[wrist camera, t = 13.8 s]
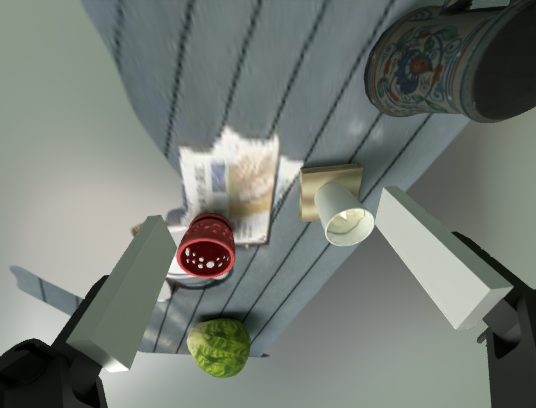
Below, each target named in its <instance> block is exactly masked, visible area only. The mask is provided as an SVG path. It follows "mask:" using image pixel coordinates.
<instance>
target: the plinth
mask: <svg viewBox="0 0 536 408" xmlns="http://www.w3.org/2000/svg"><path fill="white" fill-rule="evenodd" d="M363 169H364V168H363V167H362V166H361V165H360V164H358V163H353V164H343V165H333V166H323V167H313V168H302V169H300V214H299V216H300V219H301V222H310V221H319V220H320V218H319V215H318V212H317V209H316V206H315V203H314V197H315V194H316V192H317V191H318V190H319V188H321V187H322V186H323V185H325V184H328V183H340V184H342V185H344V186H345V187H346V188H347V189H348V190H349V191H350V192H351V193H352V194H353V195H354V196H355V197H356V198H357V199H358V194H359V189H360V184H361V179H362V174H363Z"/></svg>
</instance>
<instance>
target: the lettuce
mask: <svg viewBox="0 0 536 408" xmlns="http://www.w3.org/2000/svg"><path fill="white" fill-rule="evenodd" d="M250 344H251V338H250V335H249V332H248V329H247V328H246V327H245V325H244V324H243V323H241V322H240V321H238V320H234V319H227V318H220V319H214V320H210V321H207V322H201V323H198V324H196V325H194V326H193V327H192V329H191V330H190V332H189V335H188V339H187V346H188V348H189V351H190V352H191V354H192V355H193V357H194V359H195V362H196V363H197V364H198V366H199V367H200V368H201V369H203V370H204V371H205V372H207V373H209V374H211V375H212V376H214V377H218V378H226V377H231V376H235V375H237V374H238V373H239V372H240V371H241V370H242V369H243V368H244V366H245V364H246V361H247V359H248V356H249V352H250Z"/></svg>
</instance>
